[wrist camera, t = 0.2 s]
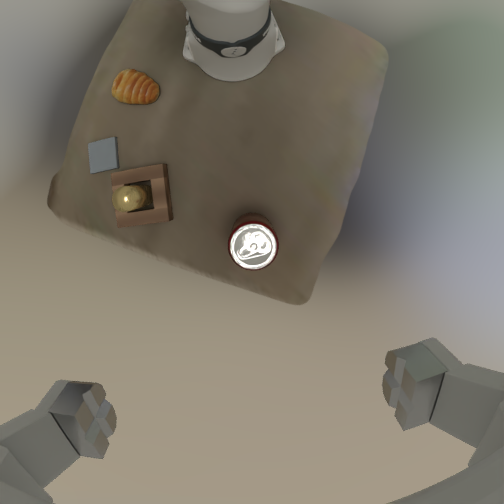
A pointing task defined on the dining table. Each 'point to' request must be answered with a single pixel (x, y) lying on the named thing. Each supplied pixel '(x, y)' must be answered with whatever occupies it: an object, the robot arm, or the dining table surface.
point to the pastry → (134, 88)
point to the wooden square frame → (159, 192)
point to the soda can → (253, 242)
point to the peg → (132, 197)
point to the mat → (103, 155)
